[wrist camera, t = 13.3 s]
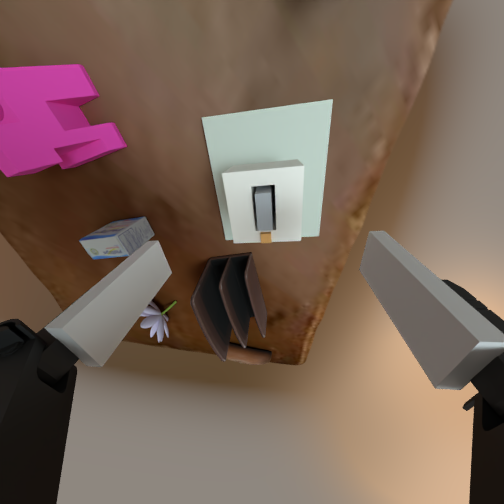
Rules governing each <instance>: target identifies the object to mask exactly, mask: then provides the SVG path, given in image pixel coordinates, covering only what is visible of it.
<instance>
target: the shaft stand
mask: <svg viewBox="0 0 504 504" xmlns="http://www.w3.org/2000/svg"><path fill="white" fill-rule="evenodd" d="M332 102H333V99H331V100H324V101H317V102H310V103H303V104H296V105H289V106H281V107H274V108H267V109H260V110H253V111H246V112H239V113H232V114H224V115H217V116H210V117H203V118H202V122H203V127H204V132H205V137H206V142H207V147H208V152H209V157H210V162H211V168H212V173H213V178H214V183H215V188H216V193H217V198H218V203H219V208H220V213H221V218H222V223H223V228H224V233H225V238H226V240H233V235H232V229H231V223H230V218H229V212H228V206H227V200H226V194H225V189H224V183H223V177H222V173H223V172H224V171H226V170H227V169H229V168H230V167H232V166H233V165H244V164H254V163H264V162H274V161H284V160H294V159H298V160H299V161H300V162H301V163H302V164H303V165H304V186H303V207H302V229H301V237H310V236H319V229H320V219H321V210H322V200H323V190H324V180H325V171H326V161H327V151H328V141H329V132H330V122H331V112H332ZM255 204H256V215H257V226H258V231H267V230H273V212H276V204H275V185H264V186H257V189H256V191H255Z"/></svg>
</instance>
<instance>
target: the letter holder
mask: <svg viewBox="0 0 504 504" xmlns="http://www.w3.org/2000/svg"><path fill="white" fill-rule="evenodd" d="M191 306H192V309H193V311H194V314H195V316H196V318H197V321H198V323H199V325H200V327H201V329H202V331H203V333H204V335H205V337H206V339H207V340H208V342H209V344H210V345H211V347H212V348H213V350H214V351H215V353H216V354H217V356H218V357H219V358H220V359H221V360H222V361H223V362H224V361H225V360H226V357H227V352H228V347H229V341H230V336H231V330H232V328H233V330H234V333H235V335H236V337H237V339H238V340H239V342H240V344H241V346H242V347H243V348H246V345H247V337H248V329H249V321H250V317H255V319H256V322H257V325H258V327H259V330H260V332H261V335H262V337H263V338H264V337H265V333H266V321H267V311H266V307H265V303H264V299H263V295H262V292H261V287H260V284H259V280H258V276H257V272H256V268H255V264H254V261H253V256H252V253H251V252H250V253H242V254H235V255H227V256H219V257H212V258H210V259H209V260H208V262H207V264H206V267H205V269H204V271H203V273H202V275H201V277H200V279H199V281H198V284H197V286H196V288H195V291H194V293H193V295H192V297H191Z"/></svg>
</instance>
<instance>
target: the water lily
mask: <svg viewBox="0 0 504 504" xmlns="http://www.w3.org/2000/svg"><path fill="white" fill-rule="evenodd" d="M175 303H176V301H174V302H173V303H172V304H171V305H170V306H169V307H168V308H167V309H166V310H165V311H163V312H162V313H161V311H160V310H159V308H158V307H157V306H156V304H155V303H154V302H153V301H151V302H150V303H149V304H150V305H151V306H153V307H154V308H155V309H154V308H152V307H150V306H147V307H146V308H145V310H144V311H143V312H142V314H141V315H140V316H149V317H147V318H145V319H144V320H143V321H142V322H141V327H142V328H149V327H151V326H152V328H151V332H150V337H152V336H153V335H154V334H155V332H156V331H157V334H158V341H161V342H162V339H163V335H164V329H165V332H166V334H167V337H168V338H169V335H168V328H167V324H166V322H165V319H166V320H167V321H168V316H167V315H166V314H164V313H165V312H167V311H168V310H169V309H170V308H171V307H172V306H173V305H174V304H175ZM163 316H164V317H163ZM164 318H165V319H164Z"/></svg>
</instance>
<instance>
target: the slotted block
mask: <svg viewBox="0 0 504 504" xmlns="http://www.w3.org/2000/svg"><path fill="white" fill-rule="evenodd" d="M222 177H223V183H224V189H225V194H226V200H227V206H228V212H229V218H230V223H231V229H232V235H233V241H234V243H255V242H261V243H272V242H281V241H301V229H302V207H303V186H304V165H303V164H302V163H301V162H300V161H299V160H298V159H294V160H284V161H274V162H264V163H254V164H244V165H233V166H232V167H230V168H229V169H227V170H226V171H224V172H223V173H222ZM264 185H275V204H276V212H273V230H267V231H258V226H257V215H256V204H255V191H256V189H257V186H264Z"/></svg>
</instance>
